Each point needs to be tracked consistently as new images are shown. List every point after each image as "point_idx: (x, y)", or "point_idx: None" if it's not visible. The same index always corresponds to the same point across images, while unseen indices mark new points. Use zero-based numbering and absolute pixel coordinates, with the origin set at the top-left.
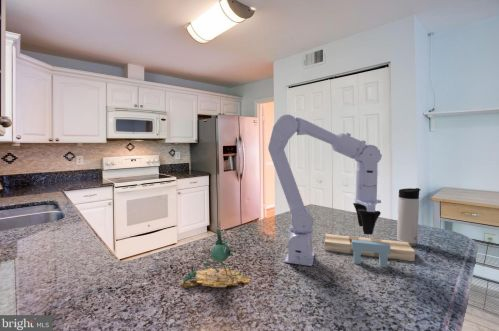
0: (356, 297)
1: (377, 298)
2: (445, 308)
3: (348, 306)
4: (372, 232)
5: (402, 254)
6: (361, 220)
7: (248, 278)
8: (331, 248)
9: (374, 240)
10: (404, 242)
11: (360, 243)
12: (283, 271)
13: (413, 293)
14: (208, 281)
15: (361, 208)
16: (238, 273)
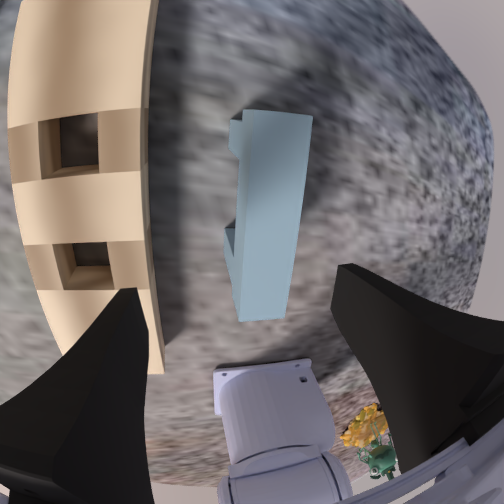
0: (437, 253)
1: (443, 210)
2: (460, 72)
3: (453, 267)
4: (364, 269)
5: (150, 27)
6: (138, 358)
7: (362, 409)
8: (161, 335)
9: (31, 163)
10: (25, 12)
11: (288, 280)
12: (337, 388)
13: (425, 108)
14: (382, 428)
15: (130, 472)
16: (359, 423)
